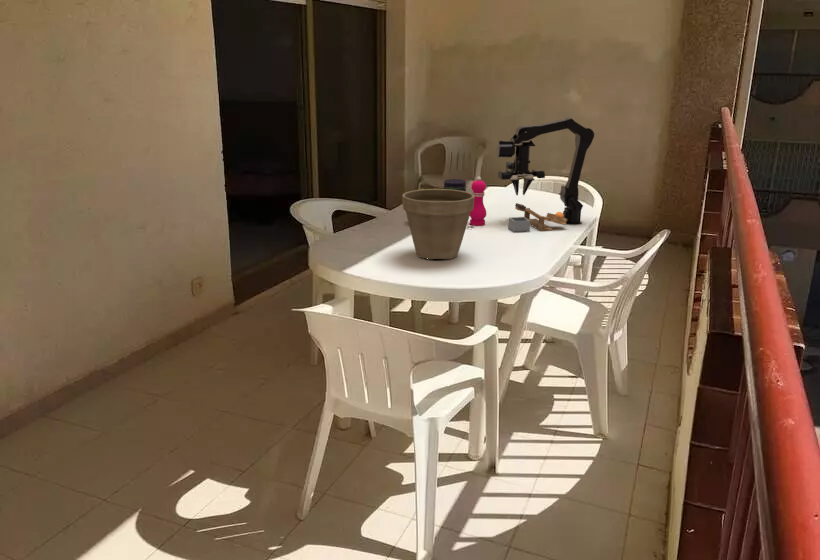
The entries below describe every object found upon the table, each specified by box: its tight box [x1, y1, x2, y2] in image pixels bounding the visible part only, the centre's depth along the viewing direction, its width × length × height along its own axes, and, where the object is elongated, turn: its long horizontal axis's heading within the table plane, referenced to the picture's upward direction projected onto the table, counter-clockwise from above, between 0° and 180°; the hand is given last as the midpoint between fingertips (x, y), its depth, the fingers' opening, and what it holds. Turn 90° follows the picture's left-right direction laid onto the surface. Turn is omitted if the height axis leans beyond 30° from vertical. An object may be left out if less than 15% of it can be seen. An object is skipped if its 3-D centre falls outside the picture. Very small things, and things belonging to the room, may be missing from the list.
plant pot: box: [401, 188, 474, 260], centre depth 232 cm, size 25×25×22 cm
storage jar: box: [443, 178, 467, 192], centre depth 292 cm, size 10×10×15 cm
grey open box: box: [507, 216, 531, 233], centre depth 268 cm, size 7×7×4 cm
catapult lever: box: [514, 203, 567, 226], centre depth 274 cm, size 17×16×3 cm
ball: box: [554, 211, 564, 218], centre depth 270 cm, size 4×4×4 cm
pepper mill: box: [469, 176, 487, 227], centre depth 275 cm, size 7×7×20 cm
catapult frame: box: [523, 207, 553, 232], centre depth 275 cm, size 6×18×6 cm, turn 11°
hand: (520, 195), depth 276 cm, fingers open, 3 cm apart
